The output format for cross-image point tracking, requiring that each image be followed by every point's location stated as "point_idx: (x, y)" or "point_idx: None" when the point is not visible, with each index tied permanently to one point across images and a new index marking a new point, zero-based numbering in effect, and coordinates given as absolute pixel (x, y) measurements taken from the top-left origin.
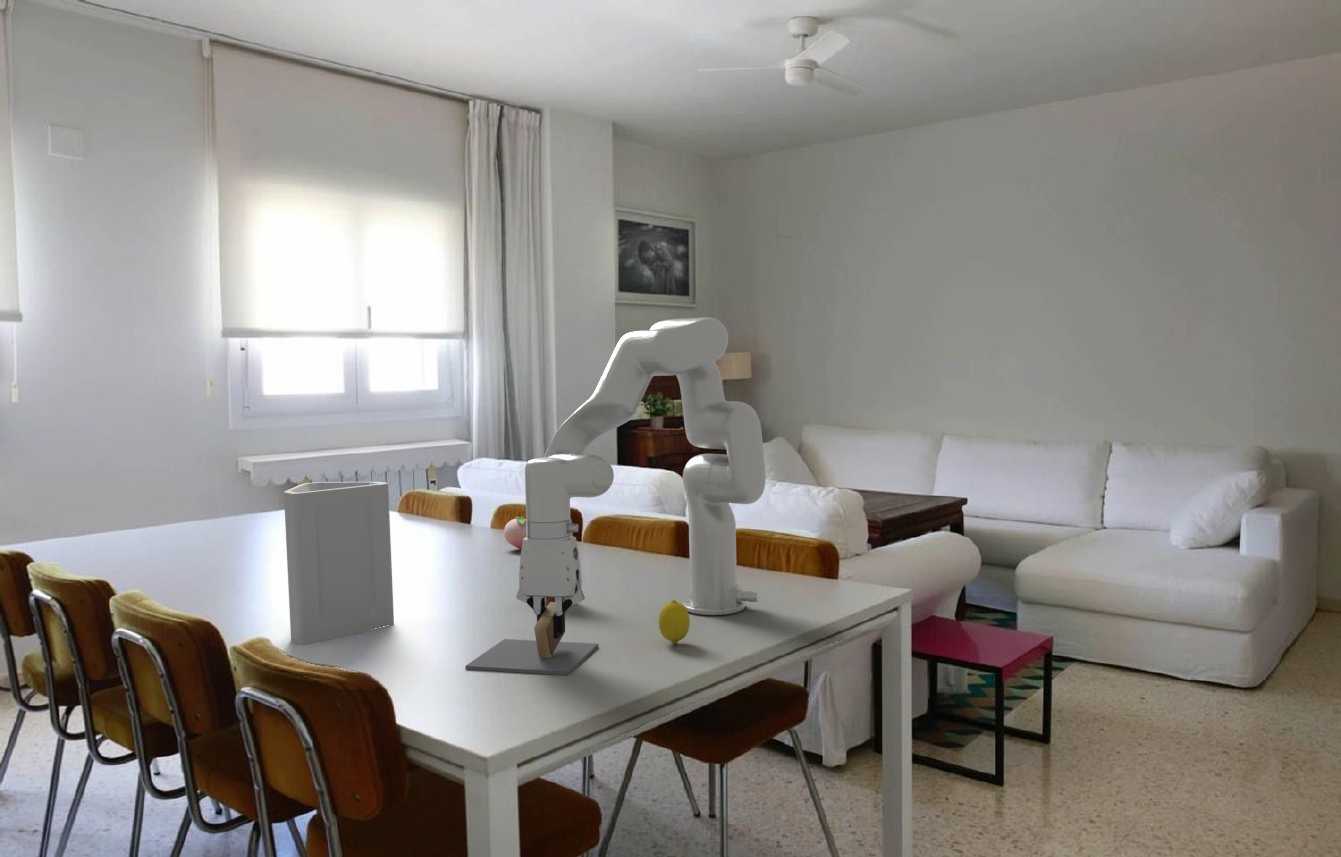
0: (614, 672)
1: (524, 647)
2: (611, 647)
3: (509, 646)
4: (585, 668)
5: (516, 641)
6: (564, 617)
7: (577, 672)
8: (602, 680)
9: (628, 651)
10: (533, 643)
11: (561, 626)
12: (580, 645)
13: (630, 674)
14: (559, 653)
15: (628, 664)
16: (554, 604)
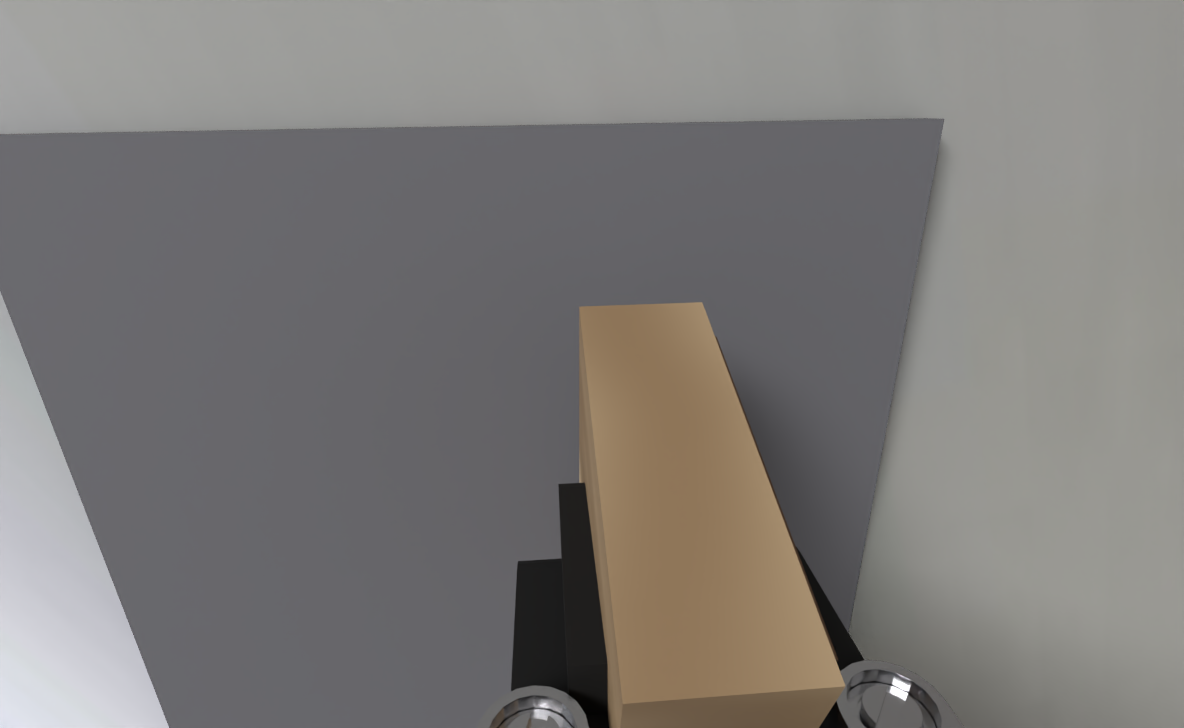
0: (1074, 608)
1: (328, 362)
2: (1040, 108)
3: (178, 359)
4: (901, 587)
5: (134, 201)
6: (851, 654)
7: (867, 649)
8: (1015, 713)
9: (1180, 196)
10: (339, 233)
11: None
12: (792, 209)
13: (1162, 616)
14: None
15: (1161, 473)
16: (731, 724)
